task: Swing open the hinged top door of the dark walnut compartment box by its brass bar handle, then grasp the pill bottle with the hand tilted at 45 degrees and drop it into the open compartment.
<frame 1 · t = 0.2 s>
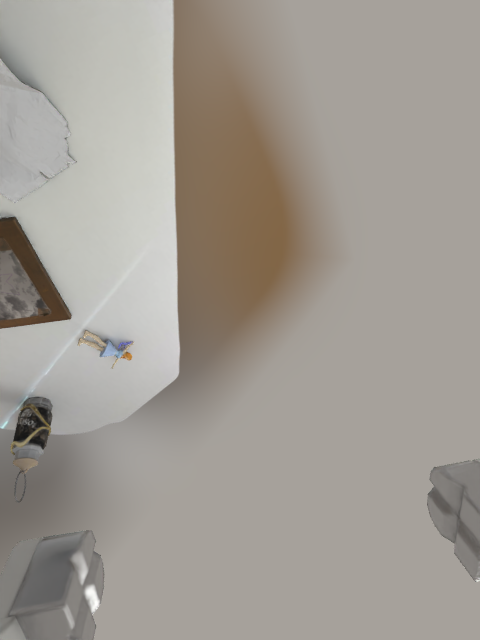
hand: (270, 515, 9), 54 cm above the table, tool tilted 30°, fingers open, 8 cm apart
fairy figurine: (107, 341, 86), on the table
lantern: (39, 402, 101), on the table
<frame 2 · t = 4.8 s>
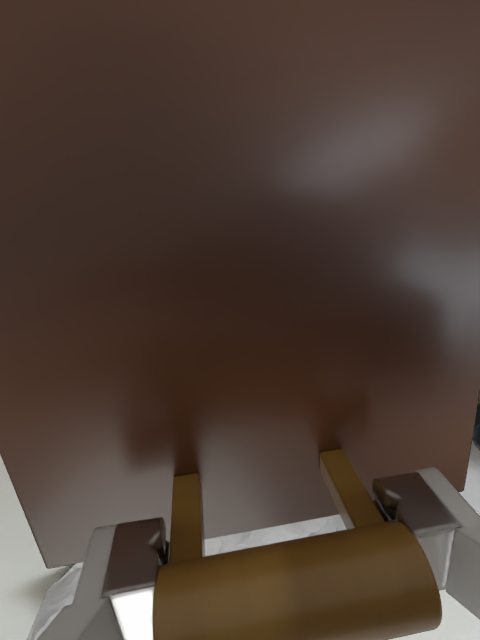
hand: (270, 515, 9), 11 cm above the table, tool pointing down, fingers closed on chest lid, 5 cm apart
paper: (197, 582, 26), on the table
chest lid: (255, 297, 7), point 11 cm above the table, hinge at 0.1°, touching gripper
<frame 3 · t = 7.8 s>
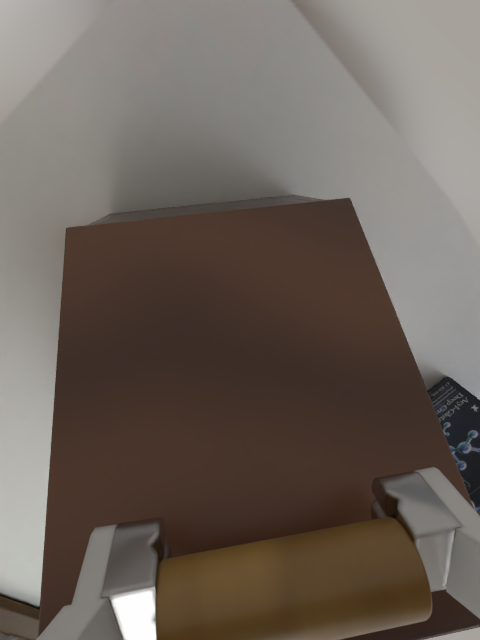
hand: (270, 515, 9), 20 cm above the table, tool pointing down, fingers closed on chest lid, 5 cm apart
chest: (216, 305, 28), on the table
chest lid: (242, 360, 11), point 16 cm above the table, hinge at 48.7°, touching gripper
box: (425, 417, 35), on the table
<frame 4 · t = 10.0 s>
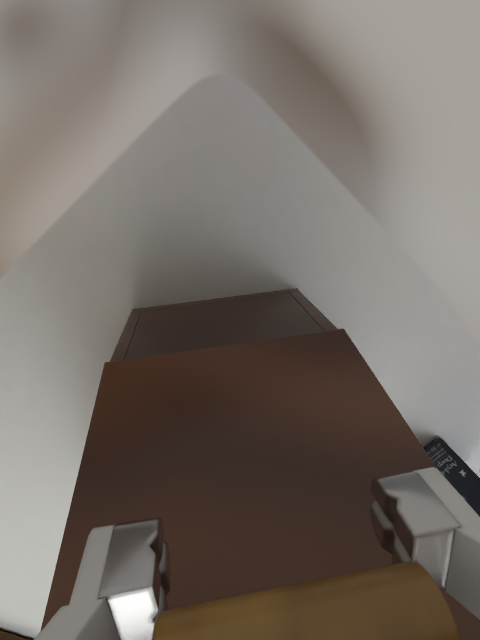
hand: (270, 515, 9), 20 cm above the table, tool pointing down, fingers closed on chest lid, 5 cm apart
chest: (226, 382, 31), on the table
chest lid: (251, 446, 12), point 17 cm above the table, hinge at 77.2°, touching gripper
box: (419, 472, 38), on the table
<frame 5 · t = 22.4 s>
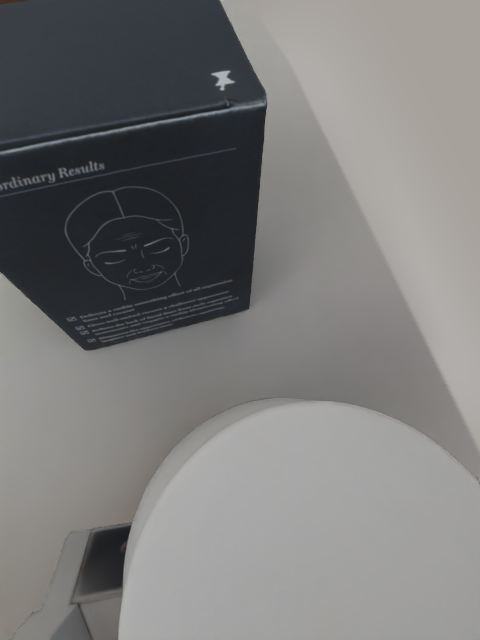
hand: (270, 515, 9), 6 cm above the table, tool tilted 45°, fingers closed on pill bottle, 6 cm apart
box: (158, 283, 18), on the table
pill bottle: (257, 522, 14), on the table, touching gripper
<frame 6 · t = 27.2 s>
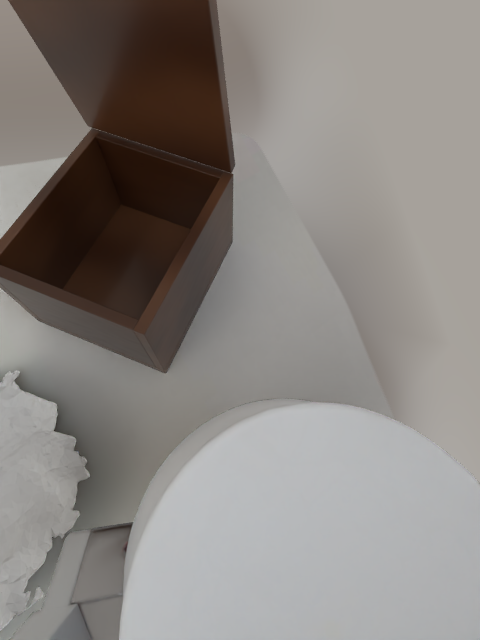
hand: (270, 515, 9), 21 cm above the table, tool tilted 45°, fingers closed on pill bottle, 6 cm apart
chest: (140, 278, 35), on the table
chest lid: (139, 29, 22), point 17 cm above the table, hinge at 77.2°
pill bottle: (257, 523, 14), point 14 cm above the table, touching gripper
when the fingers open (15 cm above the table, at t = 32.0 s): pill bottle drops 8 cm, resting on chest.
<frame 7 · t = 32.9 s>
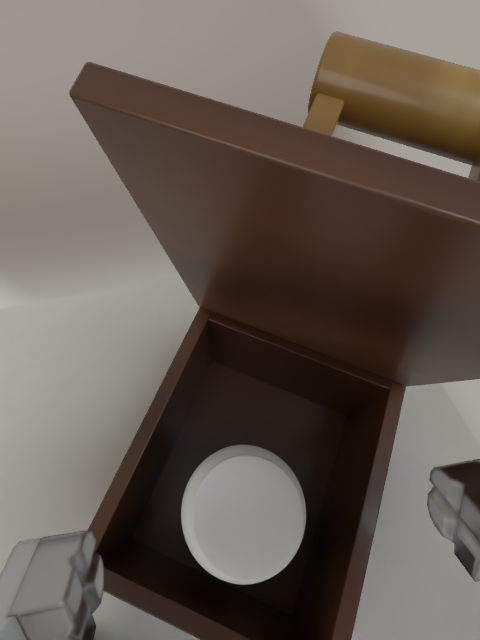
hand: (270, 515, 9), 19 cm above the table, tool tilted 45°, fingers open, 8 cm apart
chest: (246, 473, 27), on the table
chest lid: (345, 253, 14), point 17 cm above the table, hinge at 77.2°
pill bottle: (238, 503, 25), point 1 cm above the table, touching chest
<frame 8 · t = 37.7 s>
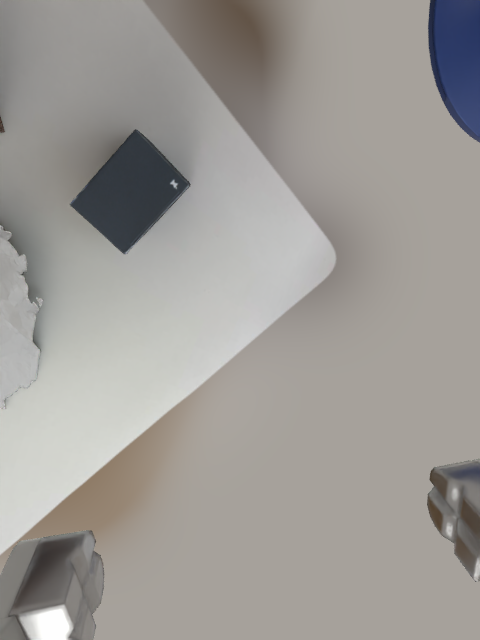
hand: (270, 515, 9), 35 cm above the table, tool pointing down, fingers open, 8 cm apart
box: (145, 191, 39), on the table
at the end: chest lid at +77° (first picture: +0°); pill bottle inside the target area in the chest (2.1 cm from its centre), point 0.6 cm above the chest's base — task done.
